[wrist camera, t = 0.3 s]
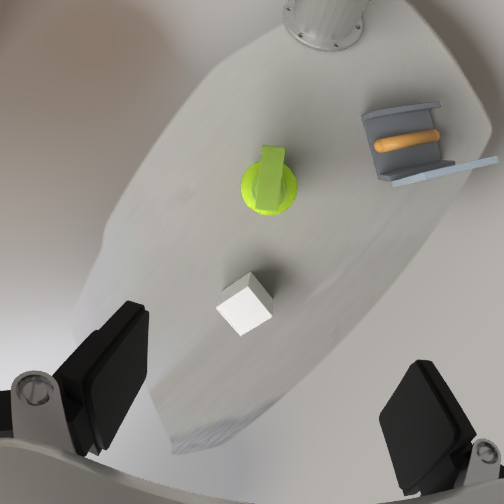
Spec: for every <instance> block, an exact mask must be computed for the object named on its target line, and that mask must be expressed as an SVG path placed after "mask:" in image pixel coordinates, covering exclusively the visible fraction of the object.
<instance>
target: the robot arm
mask: <svg viewBox="0 0 504 504" xmlns="http://www.w3.org/2000/svg"><path fill="white" fill-rule="evenodd" d="M369 2H370V0H288V1H287V2H286V4H285V6H284V11H283V19H284V24H285V26H286V28H287V30H288V31H289V33H290V34H291V35H292V36H293V37H294V38H295V39H296V40H298V41H299V42H301V43H302V44H304V45H306V46H308V47H310V48H313V49H316V50H321V51H340V50H343V49H346V48H348V47H350V46H352V45H353V44H354V43H355V42H356V41H357V40H358V38H359V37H360V35H361V33H362V29H363V21H362V18H361V15H362V13H363V11H364V10H365V8H366V7H367V5H368V3H369ZM288 10H290V11H288ZM299 36H301V37H299ZM335 45H336V46H337V47H336V46H335ZM148 327H149V312H148V311H146V310H145V307H144V305H142V304H138V303H135V302H132V301H126V302H125V303H124V304H123V305H122V306H121V307H120V308H119V309H118V310H117V311H116V313H115V314H114V315H113V316H112V317H111V318H110V319H109V320H108V321H107V322H106V323H105V324H104V325H103V326H102V327H101V328H100V329H99V330H95V331H93V332H92V333H91V334H90V335H89V336H88V337H87V338H86V339H85V340H84V341H83V342H82V344H81V345H80V346H79V347H78V348H77V349H76V350H75V351H74V352H73V353H72V354H71V355H70V356H69V358H68V359H67V360H66V361H65V362H64V363H63V364H62V365H61V366H60V367H59V369H58V370H57V371H56V372H55V373H54V374H53V375H52V376H51V375H49V374H47V373H45V372H42V371H28V372H25V373H22V374H20V375H19V376H18V377H17V378H15V380H14V381H13V383H12V386H11V390H6V391H0V504H253V503H245V502H238V501H231V500H225V499H219V498H214V497H209V496H204V495H199V494H195V493H191V492H187V491H183V490H179V489H175V488H171V487H168V486H164V485H161V484H157V483H154V482H151V481H147V480H144V479H141V478H138V477H135V476H132V475H130V474H127V473H124V472H121V471H119V470H116V469H113V468H111V467H108V466H105V465H103V464H100V463H98V462H95V461H92V460H90V459H87V458H85V456H86V455H87V453H88V452H91V453H93V454H95V455H97V456H99V454H100V452H101V450H102V449H104V450H107V449H108V448H109V446H110V444H111V442H112V440H113V439H114V437H115V435H116V433H117V431H118V429H119V427H120V425H121V423H122V421H123V420H124V418H125V416H126V414H127V412H128V410H129V408H130V406H131V405H132V403H133V401H134V399H135V397H136V395H137V394H138V392H139V390H140V388H141V386H142V384H143V383H144V381H145V378H146V375H147V352H148ZM379 422H380V425H381V428H382V431H383V434H384V437H385V441H386V443H387V447H388V450H389V453H390V457H391V460H392V463H393V467H394V470H395V474H396V477H397V480H398V484H399V487H400V488H401V489H402V490H403V493H404V496H408V495H414V494H416V493H418V492H419V491H420V492H421V495H420V497H417V498H412V499H406V500H401V501H394V502H387V503H380V504H504V466H502V465H501V464H500V462H501V454H500V451H499V449H498V448H497V446H496V445H495V444H494V443H493V442H491V441H490V440H487V439H478V440H476V441H475V443H473V445H472V443H471V441H472V439H473V438H474V437H475V436H476V435H477V434H476V432H475V430H474V429H473V427H472V425H471V423H470V421H469V420H468V418H467V416H466V415H465V413H464V411H463V410H462V408H461V406H460V405H459V403H458V402H457V400H456V398H455V397H454V395H453V393H452V392H451V390H450V388H449V387H448V385H447V384H446V382H445V381H444V379H443V378H442V376H441V375H440V373H439V372H438V370H437V369H436V367H435V366H434V364H433V363H432V361H429V360H416V361H415V362H414V363H413V364H411V365H410V367H409V369H408V370H407V372H406V374H405V376H404V377H403V379H402V381H401V382H400V384H399V385H398V387H397V389H396V390H395V392H394V393H393V395H392V396H391V398H390V400H389V401H388V403H387V404H386V406H385V407H384V409H383V410H382V412H381V413H380V416H379Z"/></svg>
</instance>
